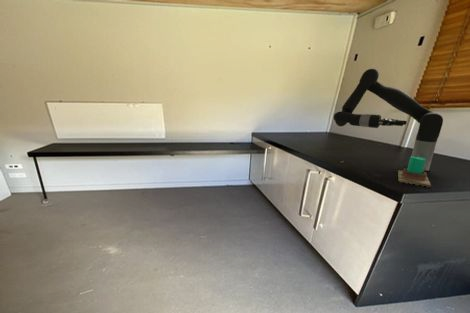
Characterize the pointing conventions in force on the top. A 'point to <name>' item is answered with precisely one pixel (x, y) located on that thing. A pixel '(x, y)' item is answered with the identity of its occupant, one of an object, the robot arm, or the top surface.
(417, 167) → the candle
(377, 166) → the top surface
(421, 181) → the cup stand
